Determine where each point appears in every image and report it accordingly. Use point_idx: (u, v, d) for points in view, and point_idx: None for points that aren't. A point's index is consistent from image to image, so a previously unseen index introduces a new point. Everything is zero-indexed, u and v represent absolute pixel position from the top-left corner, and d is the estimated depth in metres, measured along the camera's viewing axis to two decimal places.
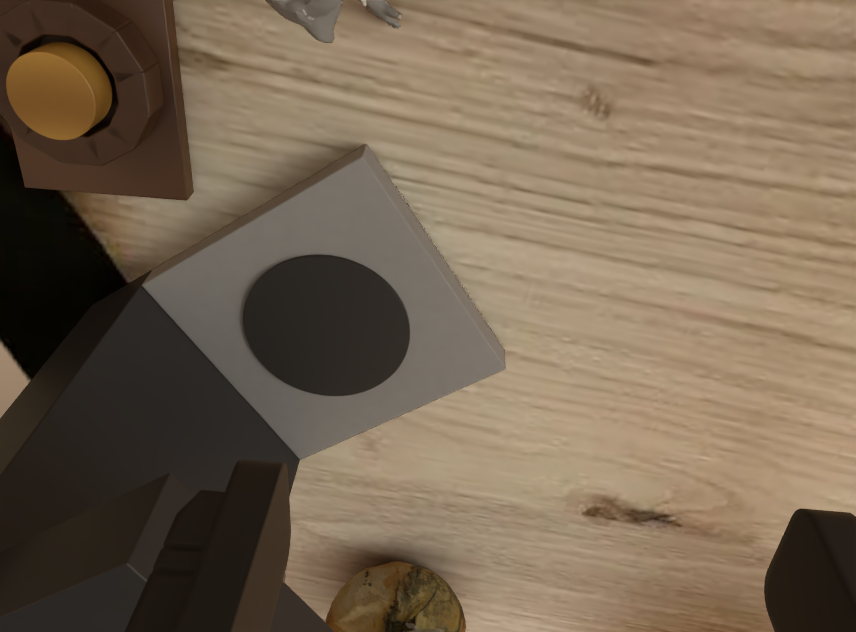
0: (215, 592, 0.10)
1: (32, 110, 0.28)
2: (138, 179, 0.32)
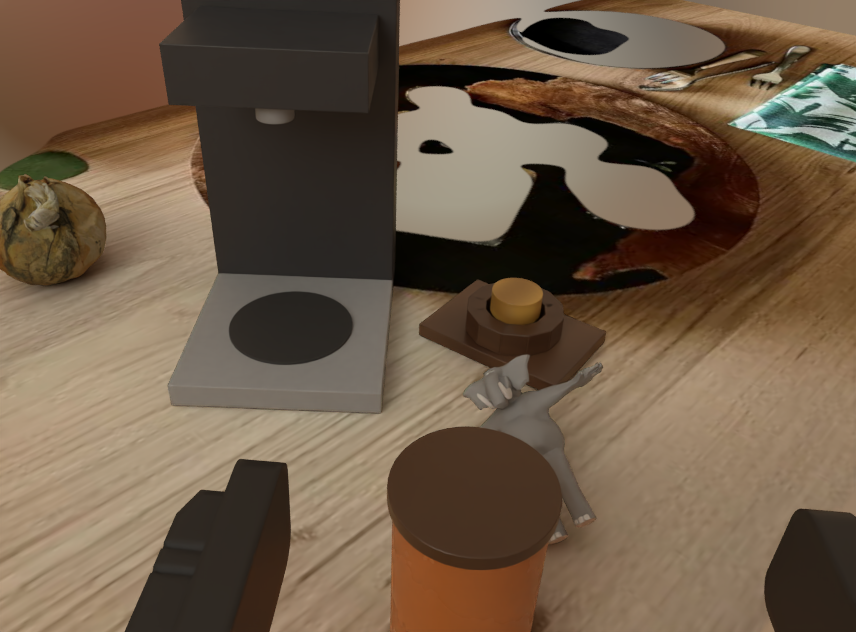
0: (215, 592, 0.10)
1: (516, 283, 0.49)
2: (446, 314, 0.51)
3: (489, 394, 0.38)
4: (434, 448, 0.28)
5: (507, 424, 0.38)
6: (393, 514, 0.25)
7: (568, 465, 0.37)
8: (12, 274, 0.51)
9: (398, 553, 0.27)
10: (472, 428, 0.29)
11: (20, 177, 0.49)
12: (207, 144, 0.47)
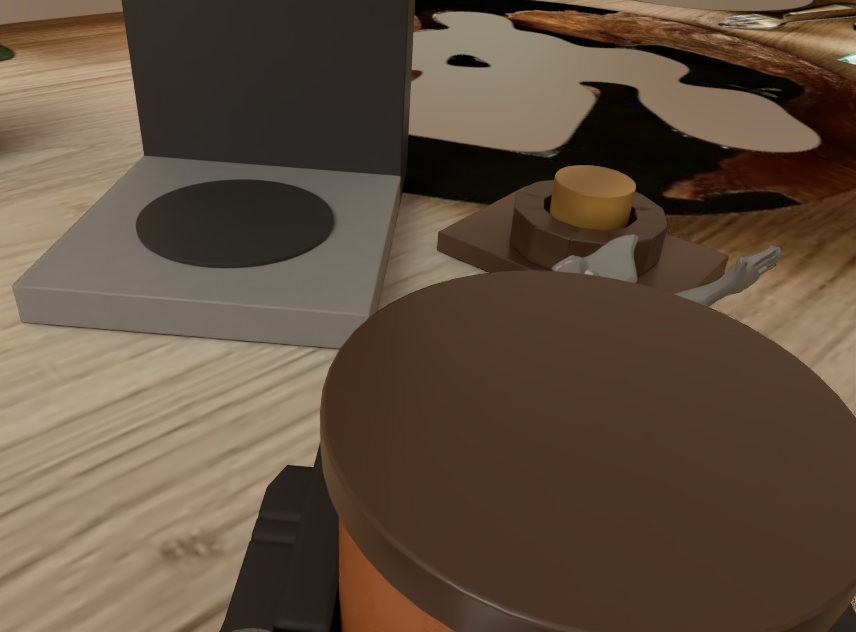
0: (318, 557, 0.10)
1: (592, 171, 0.31)
2: (480, 223, 0.33)
3: None
4: (469, 308, 0.10)
5: None
6: (330, 468, 0.08)
7: None
8: None
9: (349, 599, 0.09)
10: (569, 275, 0.11)
11: None
12: None
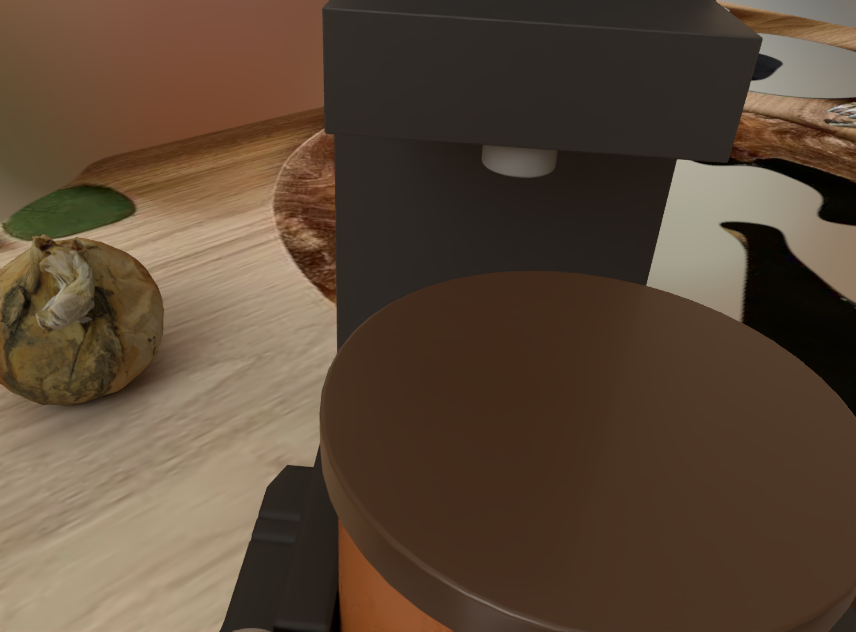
0: (318, 557, 0.10)
1: None
2: None
3: None
4: (469, 308, 0.10)
5: None
6: (329, 469, 0.08)
7: None
8: (15, 391, 0.32)
9: (348, 600, 0.09)
10: (569, 275, 0.11)
11: (35, 240, 0.30)
12: (346, 198, 0.28)
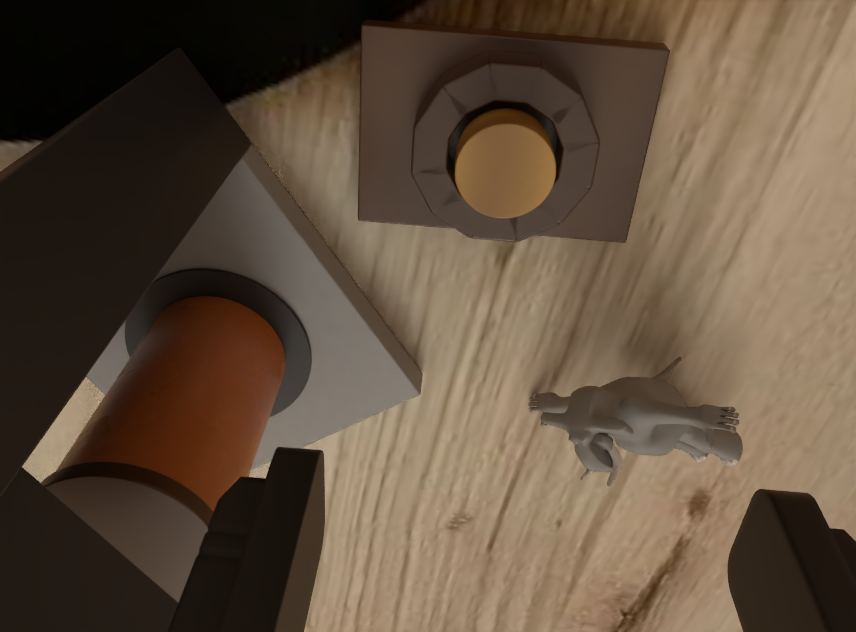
0: (263, 574, 0.10)
1: (491, 147, 0.24)
2: (380, 172, 0.27)
3: None
4: None
5: (618, 441, 0.30)
6: None
7: (703, 437, 0.31)
8: None
9: None
10: (51, 486, 0.22)
11: None
12: None
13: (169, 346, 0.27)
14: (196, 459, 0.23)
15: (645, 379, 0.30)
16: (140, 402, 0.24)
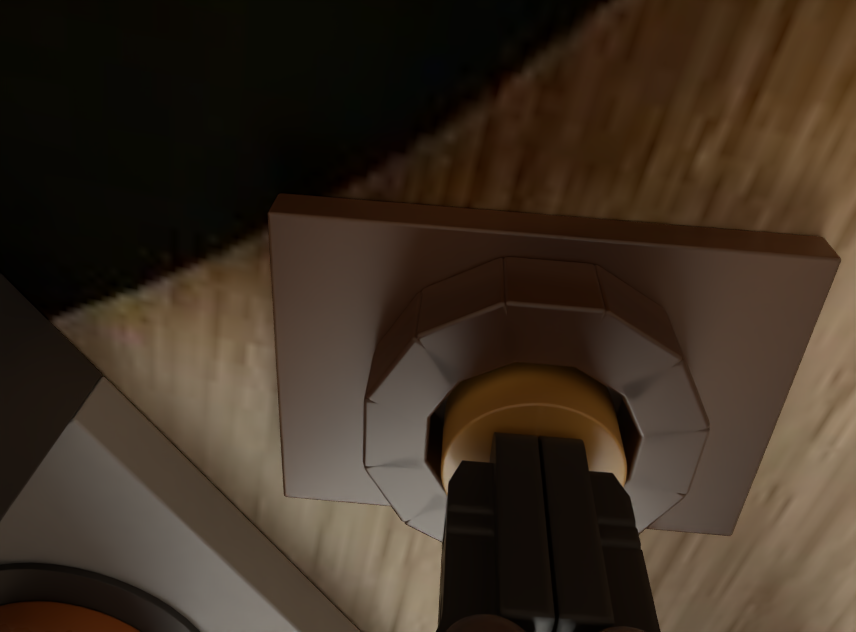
0: (525, 548, 0.10)
1: None
2: (317, 432, 0.16)
3: None
4: None
5: None
6: None
7: None
8: None
9: None
10: None
11: None
12: None
13: None
14: None
15: None
16: None
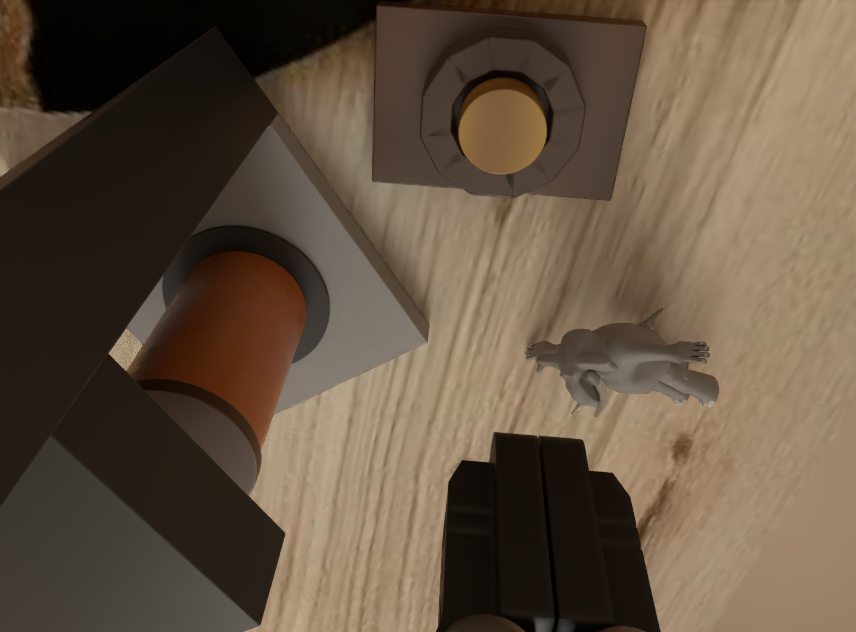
0: (525, 549, 0.10)
1: (490, 111, 0.27)
2: (392, 137, 0.31)
3: None
4: None
5: (605, 381, 0.34)
6: None
7: (682, 378, 0.34)
8: None
9: None
10: None
11: None
12: None
13: (206, 291, 0.30)
14: (234, 381, 0.27)
15: (629, 324, 0.33)
16: (184, 335, 0.28)
